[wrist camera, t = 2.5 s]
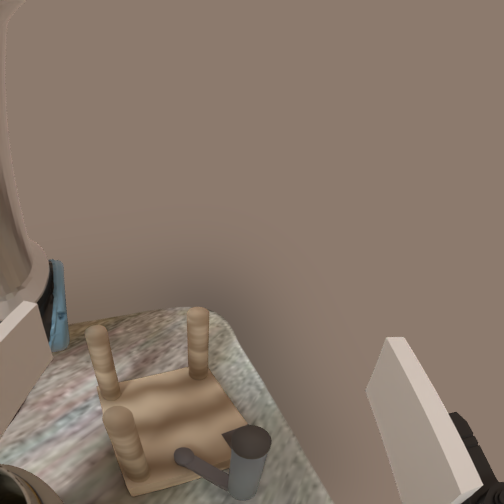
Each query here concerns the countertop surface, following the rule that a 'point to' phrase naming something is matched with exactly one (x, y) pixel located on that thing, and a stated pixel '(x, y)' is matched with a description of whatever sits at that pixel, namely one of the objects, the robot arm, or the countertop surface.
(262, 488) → the countertop surface
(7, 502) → the apothecary jar
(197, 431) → the ash stool
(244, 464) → the folding leg
